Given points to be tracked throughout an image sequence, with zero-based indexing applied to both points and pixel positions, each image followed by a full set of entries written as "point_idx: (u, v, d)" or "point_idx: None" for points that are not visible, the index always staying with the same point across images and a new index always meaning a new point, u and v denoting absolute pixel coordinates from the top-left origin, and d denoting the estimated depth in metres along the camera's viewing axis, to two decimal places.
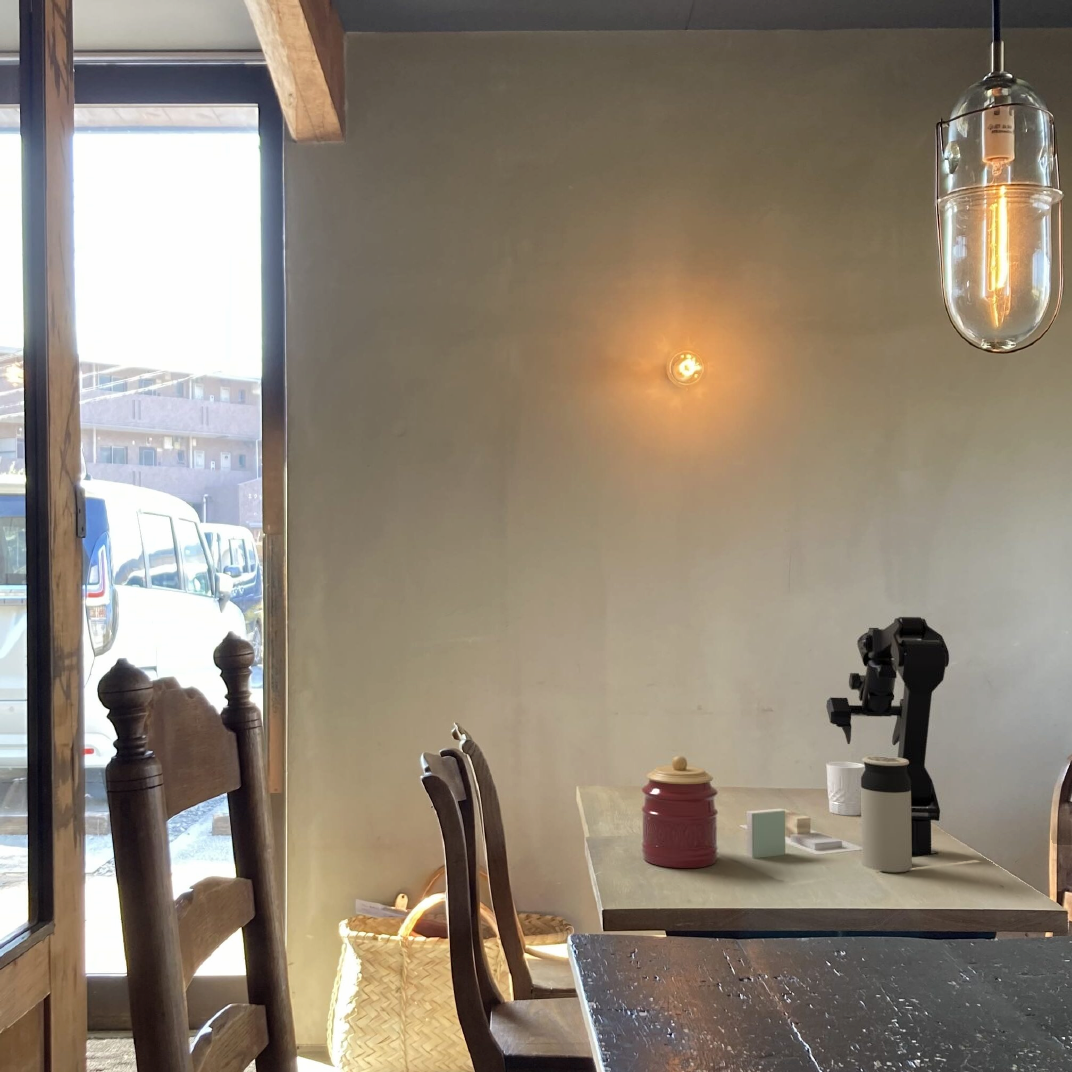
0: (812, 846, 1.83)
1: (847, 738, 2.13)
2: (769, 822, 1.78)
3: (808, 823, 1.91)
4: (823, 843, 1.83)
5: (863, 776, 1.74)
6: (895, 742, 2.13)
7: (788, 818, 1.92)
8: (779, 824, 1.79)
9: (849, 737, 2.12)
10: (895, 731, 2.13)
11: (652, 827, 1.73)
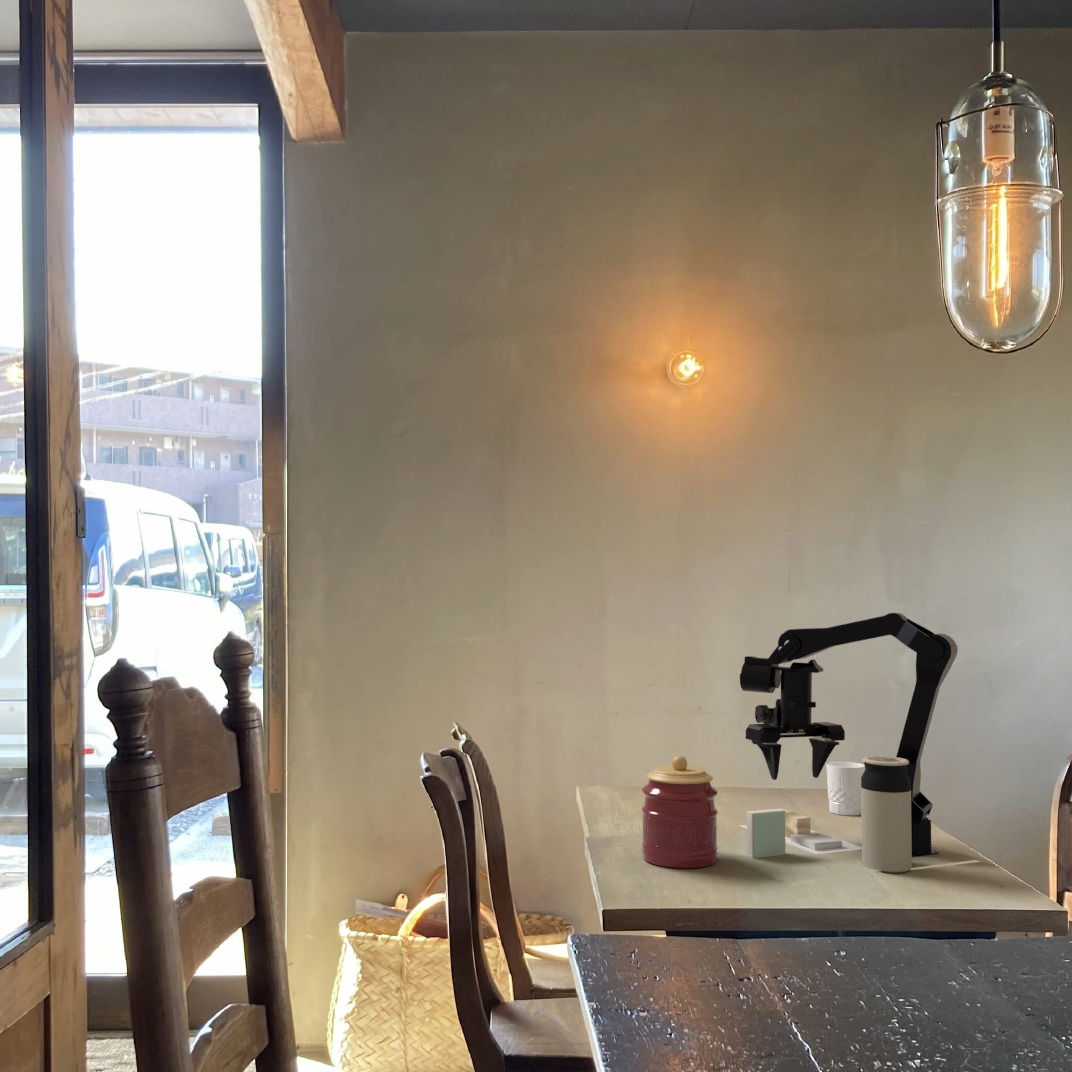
0: (812, 846, 1.83)
1: (775, 768, 1.91)
2: (769, 822, 1.78)
3: (808, 823, 1.91)
4: (823, 843, 1.83)
5: (863, 776, 1.74)
6: (818, 772, 1.95)
7: (788, 818, 1.92)
8: (779, 824, 1.79)
9: (777, 766, 1.91)
10: (815, 760, 1.96)
11: (652, 827, 1.73)
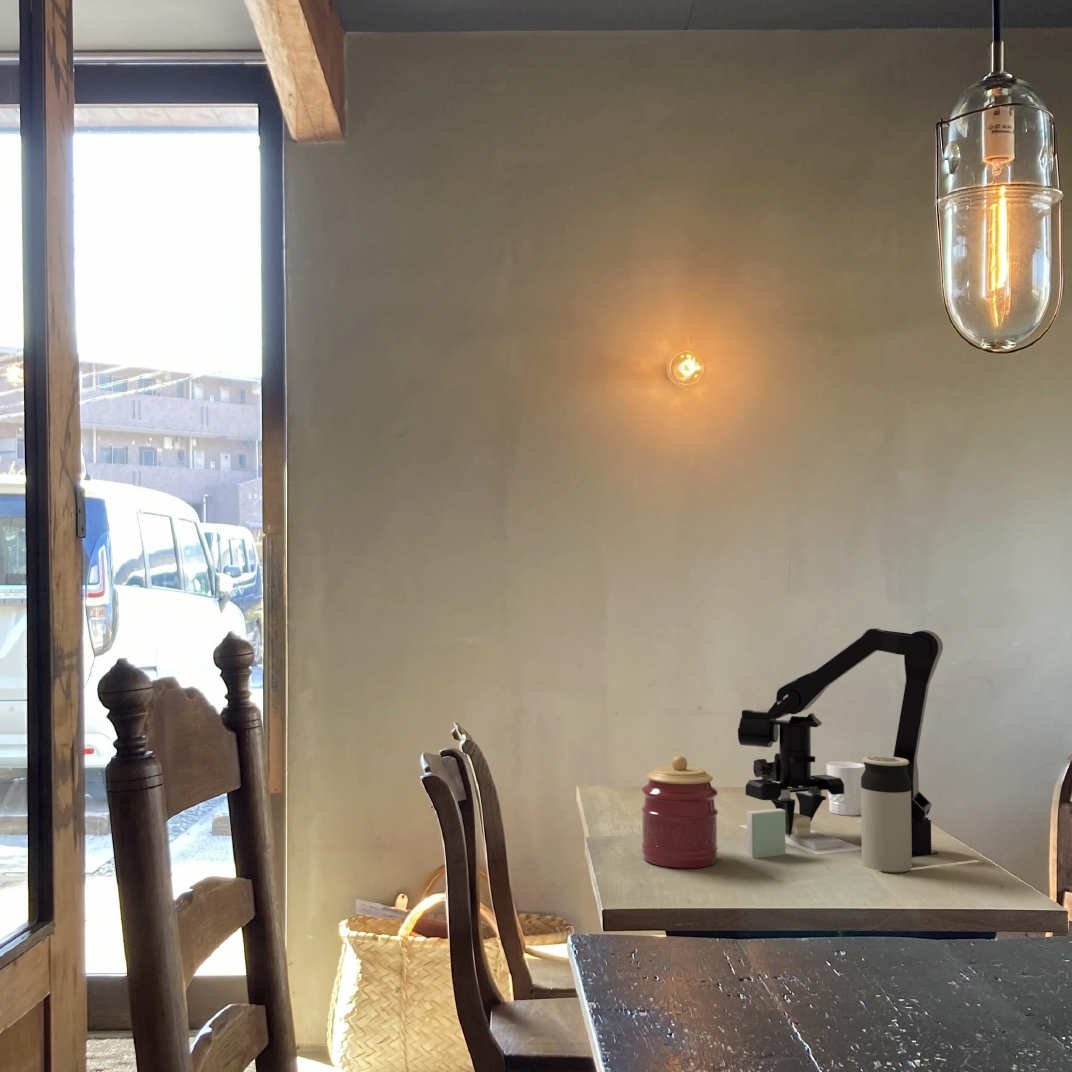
0: (812, 846, 1.83)
1: (789, 823, 1.90)
2: (769, 822, 1.78)
3: (808, 823, 1.91)
4: (823, 843, 1.83)
5: (863, 776, 1.74)
6: None
7: None
8: (779, 824, 1.79)
9: (791, 821, 1.90)
10: None
11: (652, 827, 1.73)
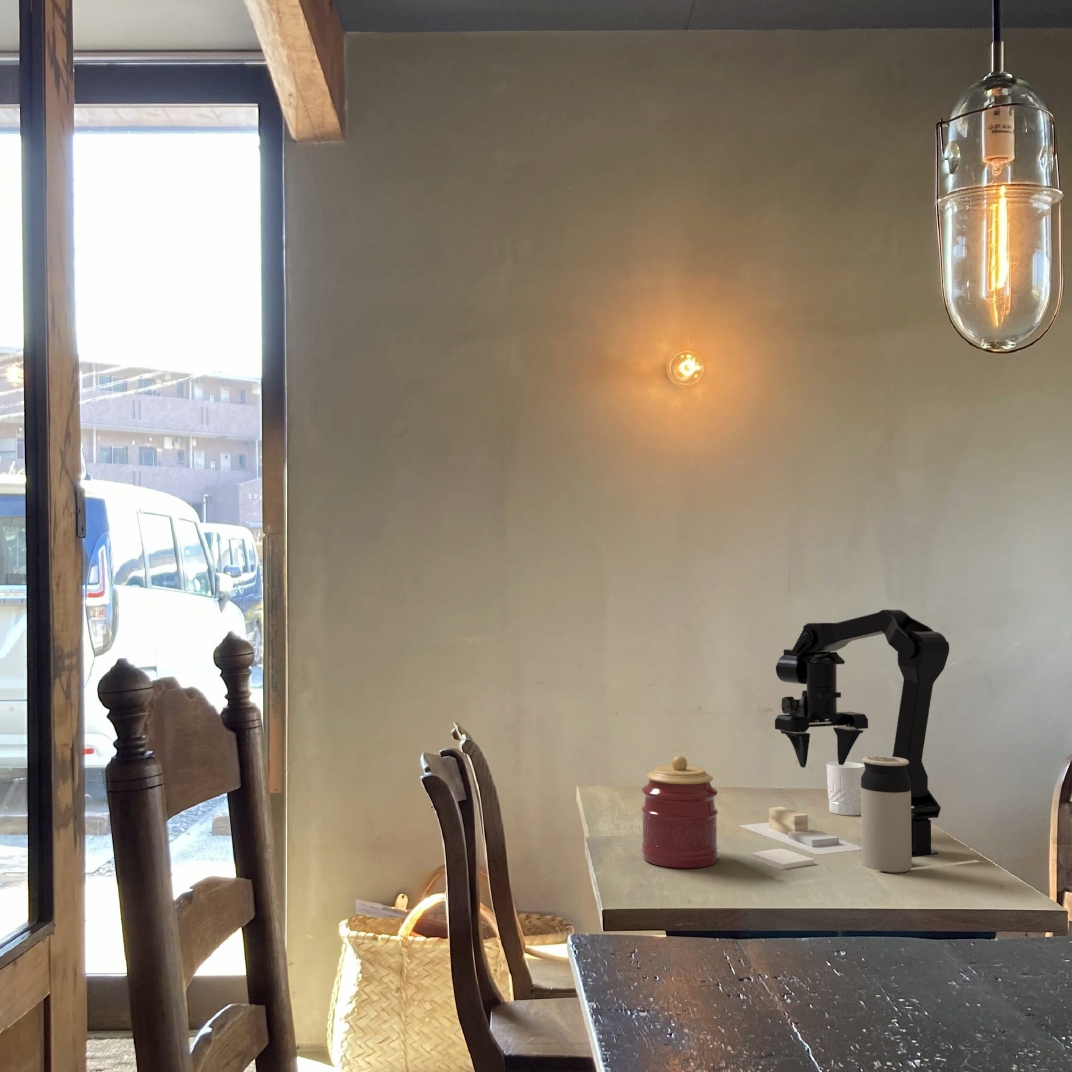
0: (809, 843, 1.85)
1: (804, 756, 2.00)
2: None
3: (805, 820, 1.93)
4: (820, 840, 1.86)
5: (863, 776, 1.74)
6: (844, 759, 2.04)
7: (785, 815, 1.94)
8: None
9: (806, 754, 2.00)
10: (840, 748, 2.05)
11: (652, 827, 1.73)
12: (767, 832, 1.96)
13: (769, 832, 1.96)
